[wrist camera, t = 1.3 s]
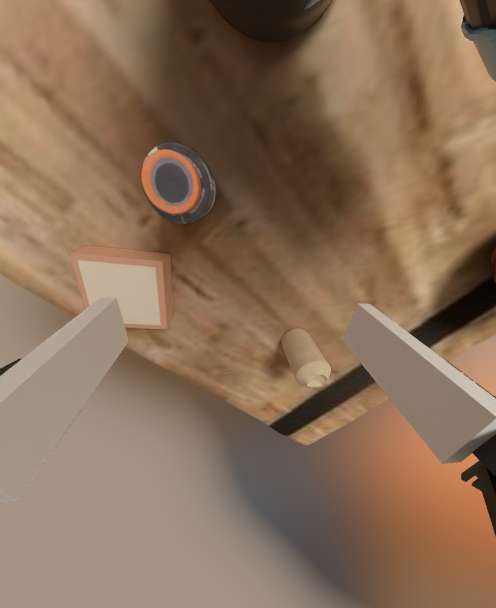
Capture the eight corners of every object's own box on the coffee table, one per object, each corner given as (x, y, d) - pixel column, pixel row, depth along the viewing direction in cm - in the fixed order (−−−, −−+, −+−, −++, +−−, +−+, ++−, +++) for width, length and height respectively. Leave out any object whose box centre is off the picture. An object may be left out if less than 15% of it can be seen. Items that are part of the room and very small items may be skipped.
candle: (280, 351, 37) (297, 397, 29) (281, 328, 35) (301, 371, 26) (307, 349, 38) (332, 393, 29) (310, 326, 35) (339, 367, 27)
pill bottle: (156, 179, 22) (103, 160, 13) (198, 150, 22) (177, 105, 12) (187, 226, 25) (164, 241, 15) (226, 202, 24) (227, 202, 14)
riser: (90, 245, 25) (67, 252, 21) (170, 253, 27) (161, 261, 23) (105, 311, 29) (89, 326, 26) (173, 315, 31) (166, 330, 27)
